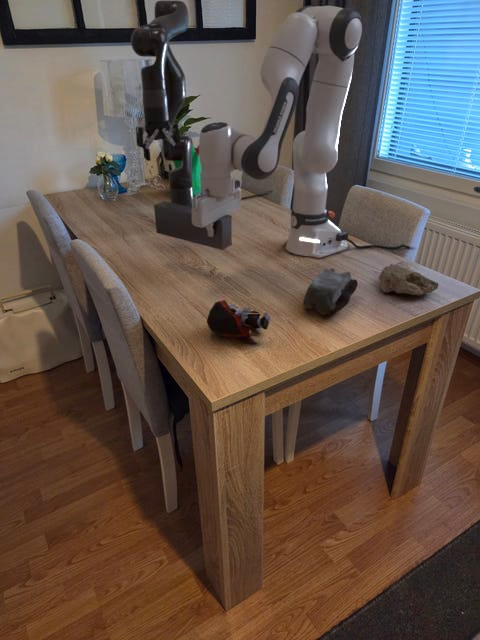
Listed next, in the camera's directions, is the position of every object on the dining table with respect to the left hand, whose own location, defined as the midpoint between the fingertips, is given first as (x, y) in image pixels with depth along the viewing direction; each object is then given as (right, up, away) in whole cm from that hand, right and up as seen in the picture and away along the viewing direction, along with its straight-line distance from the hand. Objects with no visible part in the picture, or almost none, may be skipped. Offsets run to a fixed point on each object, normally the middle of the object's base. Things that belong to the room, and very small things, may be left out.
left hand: (160, 159), depth 147 cm
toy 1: (+2, +8, +70) cm, 70 cm away
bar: (+12, -28, -8) cm, 31 cm away
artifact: (+75, -44, -12) cm, 88 cm away
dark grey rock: (+52, -49, -21) cm, 75 cm away
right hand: (+20, -27, -15) cm, 37 cm away
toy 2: (+26, -58, -36) cm, 72 cm away
